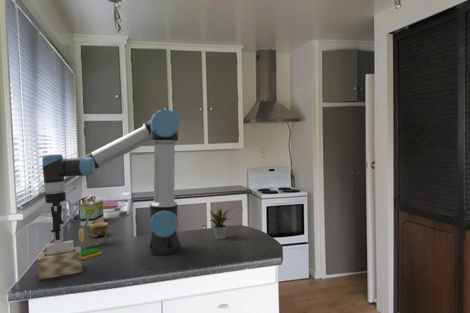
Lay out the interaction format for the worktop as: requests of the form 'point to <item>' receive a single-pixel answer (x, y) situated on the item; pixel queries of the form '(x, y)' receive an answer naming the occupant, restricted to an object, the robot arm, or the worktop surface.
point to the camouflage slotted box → (59, 264)
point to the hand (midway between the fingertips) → (59, 243)
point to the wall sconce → (98, 225)
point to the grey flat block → (66, 248)
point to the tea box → (86, 210)
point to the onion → (97, 229)
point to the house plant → (219, 224)
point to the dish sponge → (90, 253)
